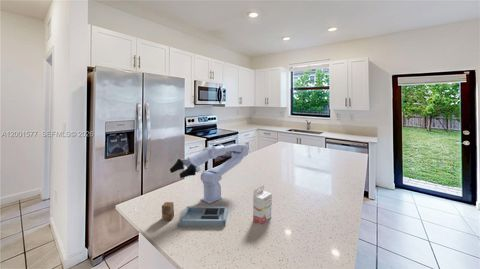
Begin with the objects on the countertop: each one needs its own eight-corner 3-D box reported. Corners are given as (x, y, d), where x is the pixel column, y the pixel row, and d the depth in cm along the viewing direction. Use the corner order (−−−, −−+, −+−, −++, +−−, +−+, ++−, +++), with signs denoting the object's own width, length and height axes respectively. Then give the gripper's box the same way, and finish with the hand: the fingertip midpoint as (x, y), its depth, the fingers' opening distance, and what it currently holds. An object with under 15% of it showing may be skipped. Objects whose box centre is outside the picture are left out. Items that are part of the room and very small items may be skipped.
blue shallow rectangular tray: (227, 211, 103) (227, 205, 103) (225, 226, 90) (225, 219, 90) (187, 211, 103) (187, 204, 103) (179, 226, 91) (178, 218, 90)
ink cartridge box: (262, 224, 91) (262, 192, 90) (252, 220, 94) (252, 189, 93) (272, 216, 98) (272, 186, 96) (263, 213, 101) (263, 184, 99)
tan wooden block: (174, 216, 99) (173, 202, 98) (171, 220, 95) (170, 206, 94) (165, 216, 99) (164, 202, 98) (162, 220, 95) (161, 206, 94)
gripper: (187, 150, 111) (164, 161, 101) (205, 157, 102) (183, 171, 93) (189, 161, 114) (167, 173, 104) (207, 169, 105) (186, 184, 96)
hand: (175, 173), depth 99 cm, fingers open, 7 cm apart
